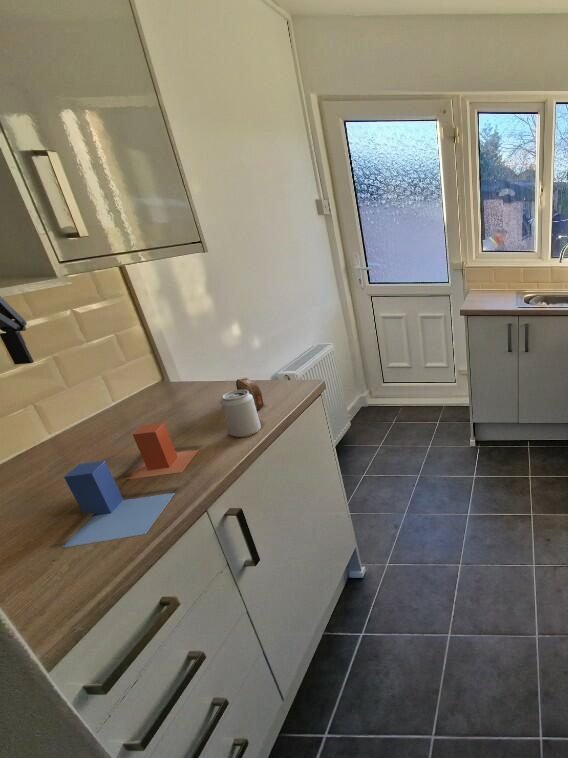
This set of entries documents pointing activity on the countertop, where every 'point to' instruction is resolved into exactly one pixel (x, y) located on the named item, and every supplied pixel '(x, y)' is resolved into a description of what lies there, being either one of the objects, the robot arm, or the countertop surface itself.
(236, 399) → the can
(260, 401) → the brown curved piece
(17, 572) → the countertop surface
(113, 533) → the blue mat
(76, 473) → the blue block
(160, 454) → the terracotta block
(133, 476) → the terracotta mat
